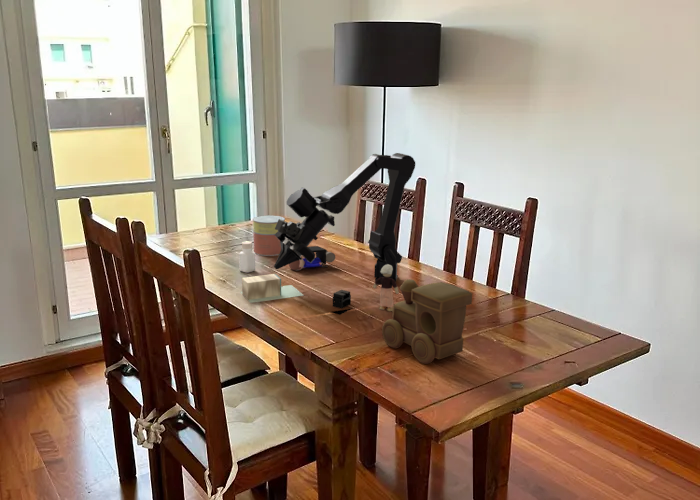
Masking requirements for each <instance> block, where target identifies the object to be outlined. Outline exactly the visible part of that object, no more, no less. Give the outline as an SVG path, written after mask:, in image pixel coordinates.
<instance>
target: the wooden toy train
mask: <svg viewBox="0 0 700 500" xmlns="http://www.w3.org/2000/svg"><path fill="white" fill-rule="evenodd" d="M399 290H400V292H401V294H402V297H403V300H402V301H401V300H400V301H398V302H396V303H393V311H392V314H391V315H392V318H389V319H386V320H385V322H383V324H382V328H381V334H382V335H381V336H382V339H383V340H384V342H385V344H386V345H387V346H389V348H392V349H398V348H400V347H402V345H403V343H405V344H406V345H409V346H411V351H412V355H413V356H414V357H415V359H416V360H417V361H418V362H420V363H422V364H425V365H427V364H430V363H431V362H432V363H433V361H434V360H435V359H437V360H442V359H444V358H445V359H446V358H447V357H451V356H453V355H457V354H458V353H461V352H463V351H464V338H463V336H462V335H463V331H464V327H465V322H466V315H467V314H466V313H467V306H470V305H473V304H472V303H473V292H471V291H469V290H467V289H465V288H463V287H459V286H457V285H454V284H452V283H447V282H442V281H439V282H432V283H427V284H424V285H420V286H419V285H418V284H417V282H416V280H415V279H404V281H403V282H402V284H401V285H400V286H399Z"/></svg>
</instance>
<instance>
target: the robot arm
mask: <svg viewBox="0 0 700 500" xmlns="http://www.w3.org/2000/svg"><path fill="white" fill-rule="evenodd" d="M383 169H384V170H387V175H388V187H387V191H386V194H385V195H386V196H385V200H384V203H383V204H384V205H383V208H382V213H381V216H380V220H379V224H378V227H377V228H376V230H375V231H374V230H371V231H370V232H369V239H368V241H367V244H368V248H369V250H370V252H371V253H372V254H373V257H374V259H377V260H376V263H375V264H374V276H373V277H374V278H375V279H374V282H375V281H376V280H377V279H378V278H380V277H384V276H383V274H382V273H381V272H380V271H381V269H382V267H383V266H385V265H387V264H389V265H391V266H392V267H393V270H392V275H391V276H390V278H392V279H394V281H395V282H396V283H397V280H398V277H399V275H398V264H400V263H401V261H402V260H403V256H402V254H400V253H399V251H397V249H396V244H397V238H396V234H395V233H396V232H395V229H396V224H397V219H398V216H399V211H400V207H401V203H402V199H403V195H404V191H405V186H406V184H407V183H408V182H409V181H410V179H411V178H412V176H413V174H414V171H415V169H416V161H415V159H414V157H413V156H411V155H409V154H405V153H400V152H395V153H393V154H392V155H388V154H377V153H373V154H372V155H370V156H369V158H368V159H367V160H365V162H363V163H362V164H361V165H360V166H359V167H358V168H356V169H355V170H354V172H352V173H351V174H350V175H349V176H348V177H347V178H346V179H345V180H344V181H343V182H341V183H340V184H338V185H335V186H333V187H330V188H329V189H327V190H326V191H324V192H323V193H322V194H321V195H317V196H312V194H311V193H309V191H308V189H306V188H305V187H301V188H300V189H298V190H296V191H295V192H293V193H291V194H290V195H289V197H288V198H287V200H286V205H287V206H288V207H289V208H290V209H291V210H292V211H293V212H294V213H295V214H296V215H297V216H298V217H299V218H304V217H305V219H303V221H301V222H293V221H291V220H290V221H289V222H288V221H286V220H285V221H283V220H280V219H279V220H278V222H277V225H276V227H275V230H278V232H277V233H276V234H275V237H277V238H278V239H279V240H280V244H281V251H280V254H279V255H277V258H276V260H275V262H274V265H273V267H274V268H275V270H279V269H281V268H283V267H285V266H287V265H289V264H290V263H292V262H295V261H298V260H301V259H303V258H306V260H307V261H308V262H310V263H312V261H313V260H314V259H315V258H316V252H313V251H311V250H310V249H309V248H308V247H309V245H310V244H311V243H312V242H313V241H317V240H318V239H319V238H318V235H319V233H320V232H322V230H323V229H324V228H325V227H326V226H327V224H328V225H330V226H332V227H334V226H335V225H336V224H335V216H333V215H334V214H335V215H336V214H337V215H338V214H340V213H342V212H343V211H344V210H345V209H346V207H347V206H349V204H350V201H351V199H352V197H353V195H355V193H356V192H357V191H359V190H360V189H361V188H362V187H363V186H364V185H365V184H366V183H367V182H368V181H369V180H370V179H372V178H373V177H374V176H375V175H376V174H377V173H378V172H379V171H380V170H383ZM318 207H319V208H321V209H320V210H319V209H318ZM326 211H327V212H329V213H331V215H329V214H328V213H327V212H326ZM332 214H333V215H332ZM302 257H303V258H302Z"/></svg>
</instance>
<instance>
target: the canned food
mask: <svg viewBox="0 0 700 500" xmlns="http://www.w3.org/2000/svg"><path fill="white" fill-rule="evenodd" d="M279 219H280V220H283V221H286V218H285V217H283V216H280V215H272V214H271V215H260V216H255V217H253V218H252V227H253V229H252V231H253V232H252V233H253V252H254V253H255V255H258V256H263V257H264V256H265V257H273V256H279V254H280V251H281V244H280V240H279V239H278V238H277V237H275V234H276V233H277V232H278V230H275V227H276V225H277V222H278V220H279Z"/></svg>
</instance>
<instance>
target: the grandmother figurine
mask: <svg viewBox="0 0 700 500" xmlns="http://www.w3.org/2000/svg"><path fill="white" fill-rule="evenodd" d="M392 270H393V267H392V266H391V265H389V264H387V265H385V266H383V267H382V269H381V271H380V272H381V273H382V274H383V276H384V277H380V278H378V279H377V280H376V281H375V280H374V284H373V286H372V287H373V289H377V288H378V286H380V292H379V293H380V295H379V300H380V301H379V303H380V304H379V305H380V306H379V310H382V311H383V310H386V311H387V312H393V305H394V293H395V294H396V295H398V294H399V293H400V292H399V287H398V285H397V281H396V282H395V281H394V279H392V278H390V276H391V275H392ZM393 289H394V290H393Z"/></svg>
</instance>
